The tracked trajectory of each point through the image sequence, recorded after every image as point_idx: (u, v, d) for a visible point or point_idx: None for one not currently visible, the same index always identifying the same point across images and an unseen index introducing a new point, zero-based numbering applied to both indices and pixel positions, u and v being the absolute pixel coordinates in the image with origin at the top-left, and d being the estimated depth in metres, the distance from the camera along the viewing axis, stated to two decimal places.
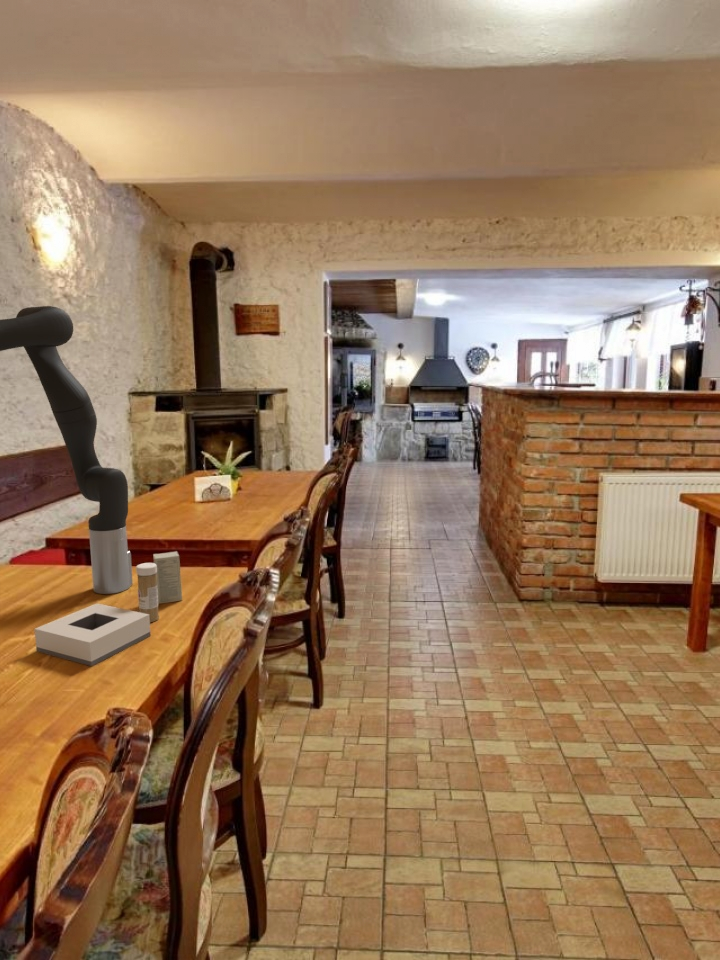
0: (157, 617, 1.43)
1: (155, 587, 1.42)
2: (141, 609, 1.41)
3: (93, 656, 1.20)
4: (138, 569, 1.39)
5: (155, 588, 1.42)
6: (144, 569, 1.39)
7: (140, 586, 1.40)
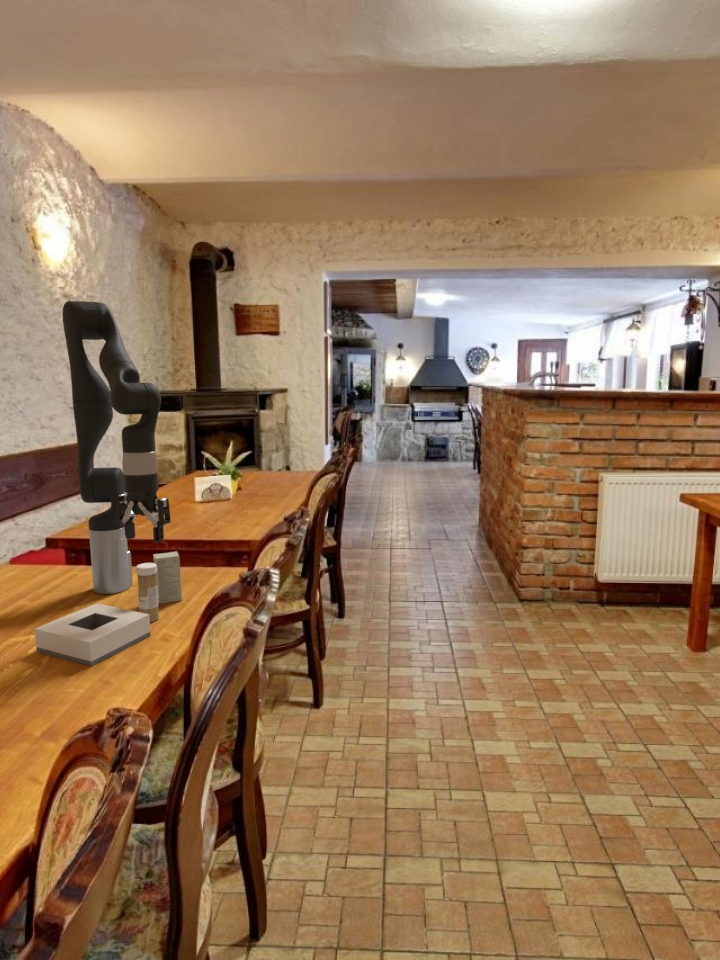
0: (157, 617, 1.43)
1: (155, 587, 1.42)
2: (141, 609, 1.41)
3: (93, 656, 1.20)
4: (138, 569, 1.39)
5: (155, 588, 1.42)
6: (144, 569, 1.39)
7: (140, 586, 1.40)
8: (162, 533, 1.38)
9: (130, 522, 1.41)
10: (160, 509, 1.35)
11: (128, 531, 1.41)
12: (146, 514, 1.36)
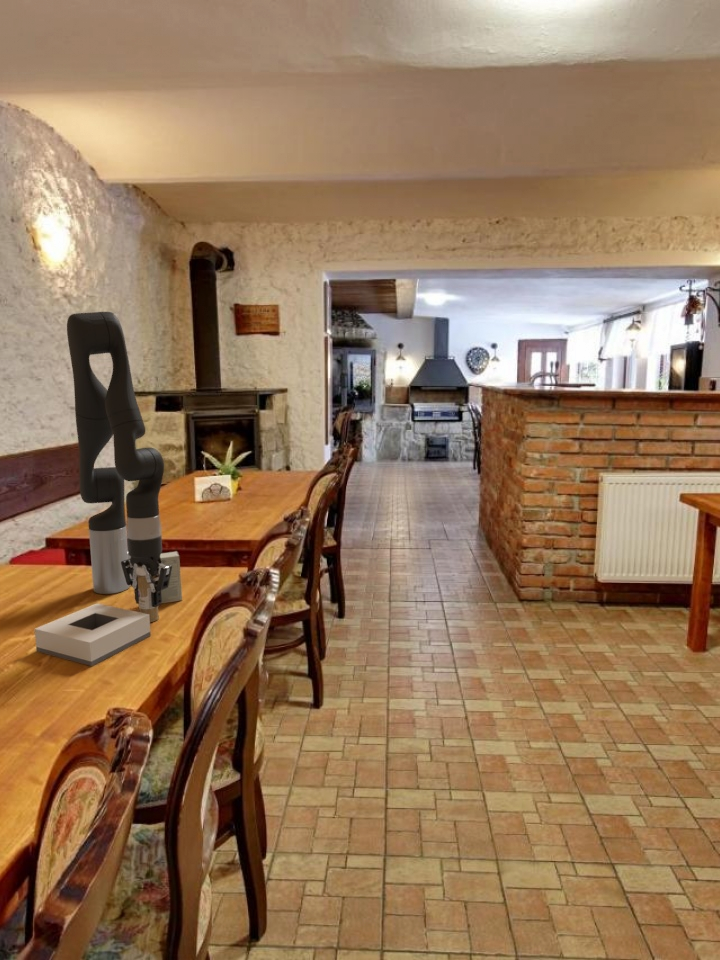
0: (157, 617, 1.43)
1: None
2: (141, 609, 1.41)
3: (93, 656, 1.20)
4: (138, 569, 1.39)
5: None
6: None
7: (139, 586, 1.40)
8: (160, 597, 1.41)
9: None
10: (162, 577, 1.38)
11: None
12: (147, 578, 1.39)
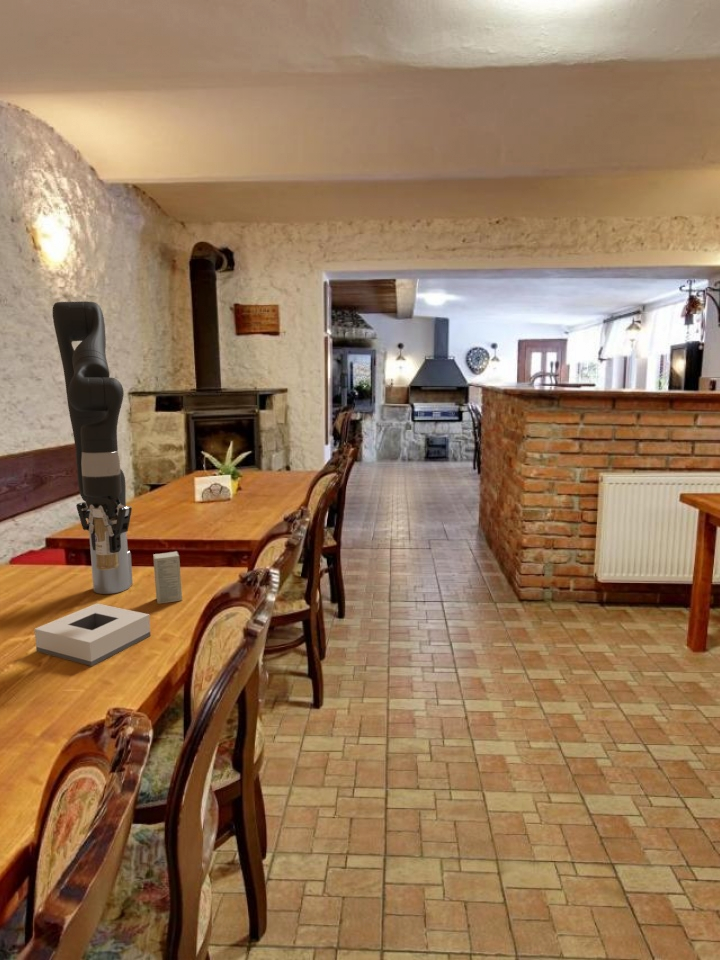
0: (116, 565, 1.31)
1: None
2: (98, 555, 1.29)
3: (93, 656, 1.20)
4: (94, 510, 1.27)
5: None
6: (100, 510, 1.27)
7: (96, 529, 1.28)
8: (119, 542, 1.29)
9: None
10: (120, 518, 1.26)
11: None
12: (104, 520, 1.27)
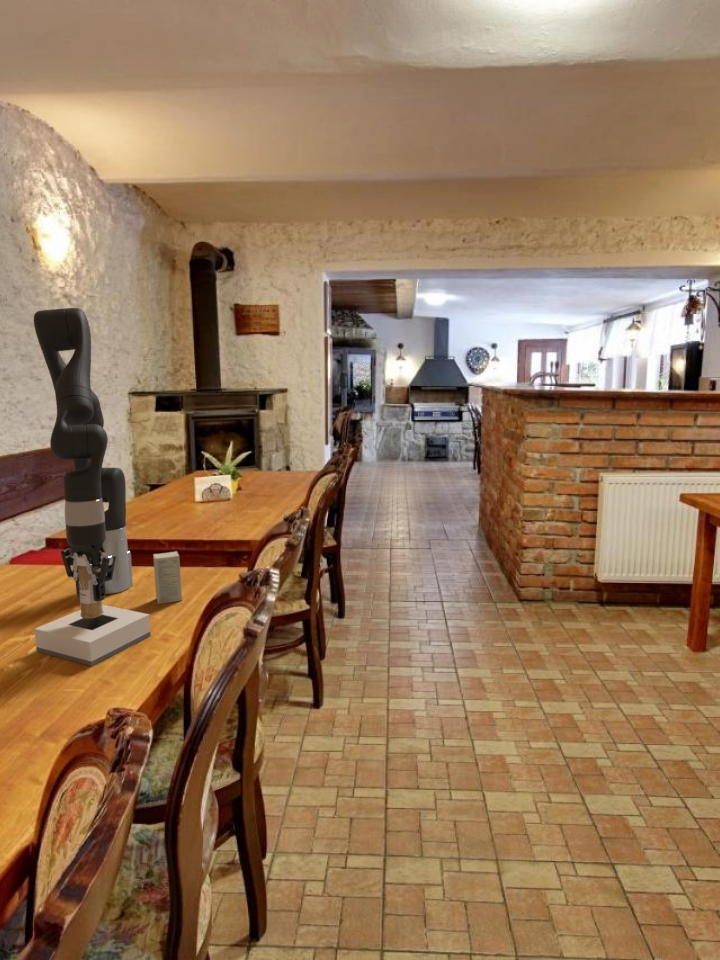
0: (100, 613, 1.29)
1: None
2: (82, 604, 1.27)
3: (93, 656, 1.20)
4: (78, 559, 1.25)
5: None
6: (84, 559, 1.25)
7: (80, 578, 1.26)
8: (103, 591, 1.27)
9: None
10: (103, 568, 1.24)
11: None
12: (88, 569, 1.25)
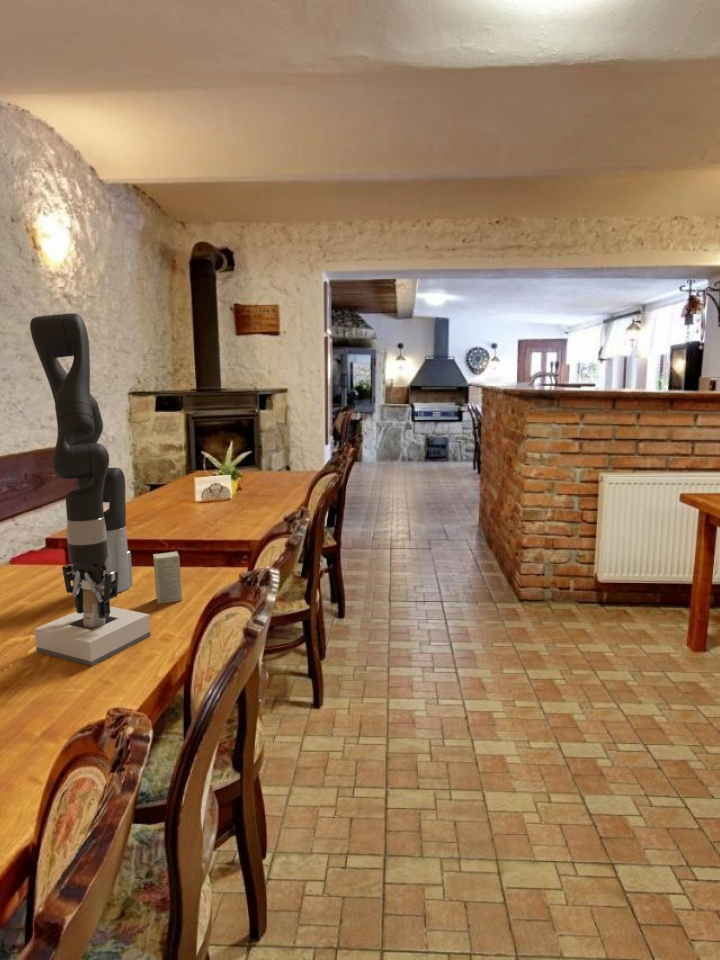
0: None
1: None
2: (85, 627, 1.28)
3: (93, 656, 1.20)
4: (83, 582, 1.27)
5: None
6: None
7: (84, 601, 1.27)
8: (108, 607, 1.27)
9: (81, 595, 1.30)
10: (107, 584, 1.24)
11: (79, 605, 1.30)
12: (92, 587, 1.26)
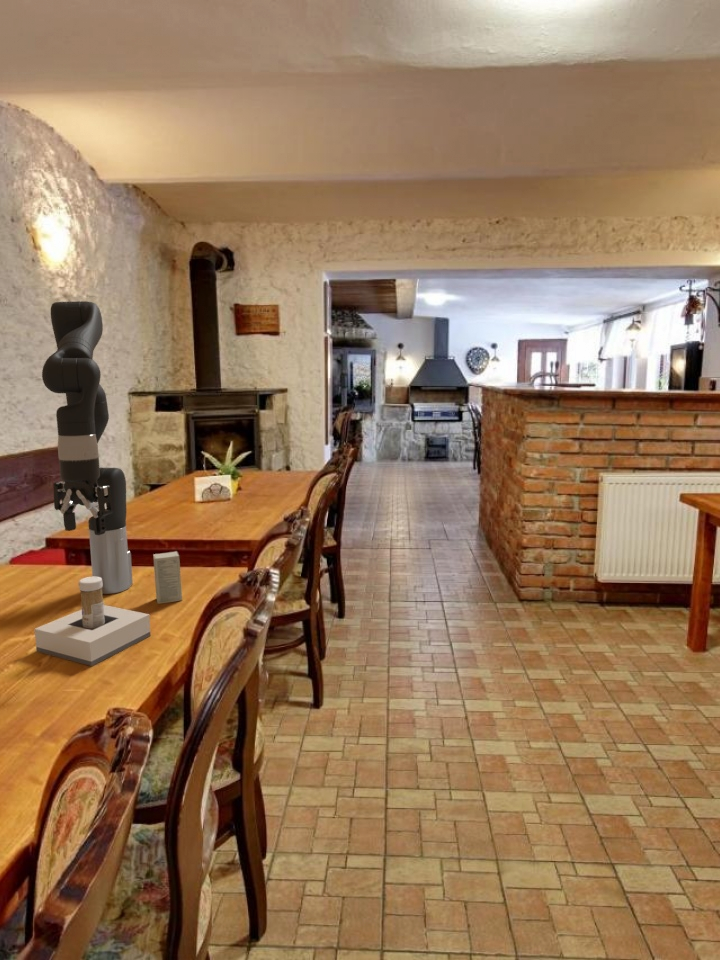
0: None
1: (100, 603, 1.28)
2: None
3: (93, 656, 1.20)
4: (80, 584, 1.26)
5: (100, 605, 1.28)
6: (87, 584, 1.26)
7: (83, 602, 1.27)
8: (104, 524, 1.26)
9: (70, 512, 1.29)
10: (100, 498, 1.23)
11: (67, 522, 1.28)
12: (85, 503, 1.24)
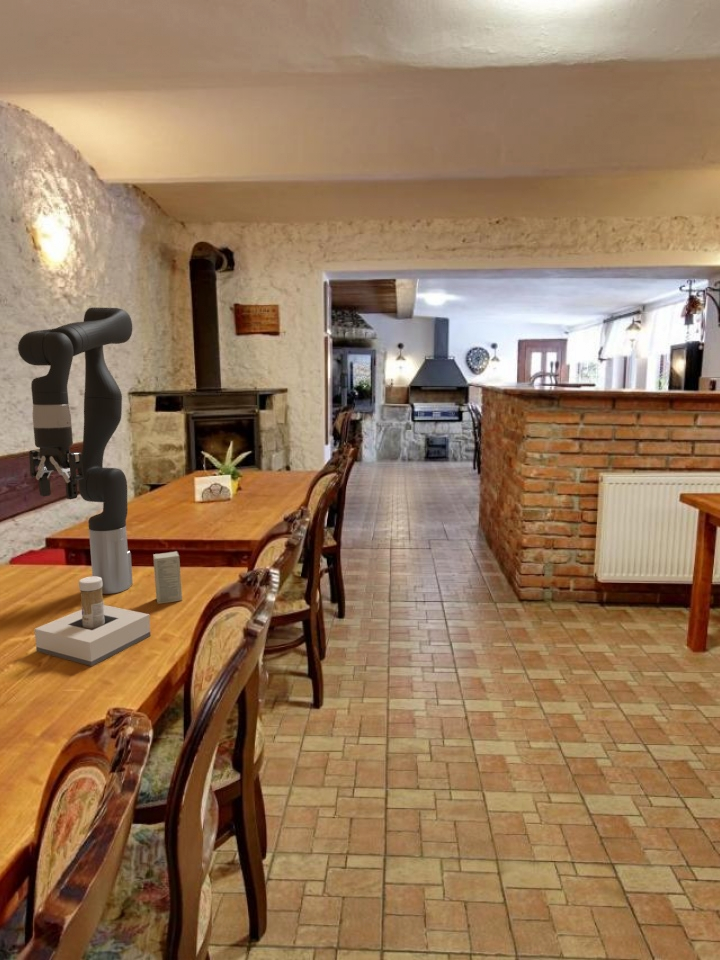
0: None
1: (100, 603, 1.28)
2: None
3: (93, 656, 1.20)
4: (80, 584, 1.26)
5: (100, 604, 1.28)
6: (87, 584, 1.26)
7: (83, 602, 1.27)
8: (75, 489, 1.34)
9: (44, 478, 1.37)
10: (71, 463, 1.31)
11: (42, 488, 1.36)
12: (58, 469, 1.32)
